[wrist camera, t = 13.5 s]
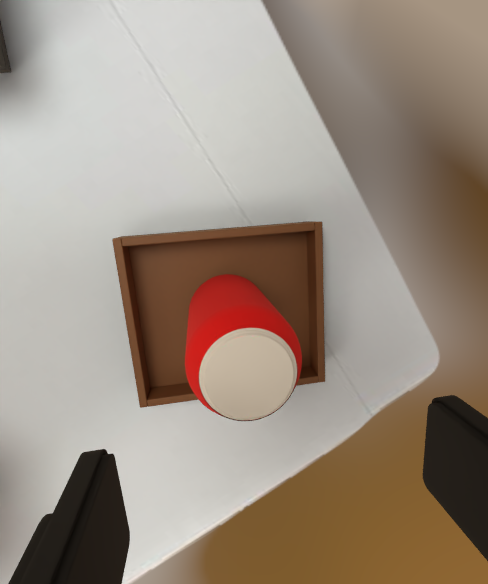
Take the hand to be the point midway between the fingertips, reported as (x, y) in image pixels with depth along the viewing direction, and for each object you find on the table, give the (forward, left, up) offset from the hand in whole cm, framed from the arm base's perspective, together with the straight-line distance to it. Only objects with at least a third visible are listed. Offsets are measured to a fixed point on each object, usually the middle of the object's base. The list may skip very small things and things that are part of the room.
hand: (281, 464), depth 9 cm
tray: (0, 0, -19) cm, 19 cm away
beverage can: (0, 0, -18) cm, 18 cm away
